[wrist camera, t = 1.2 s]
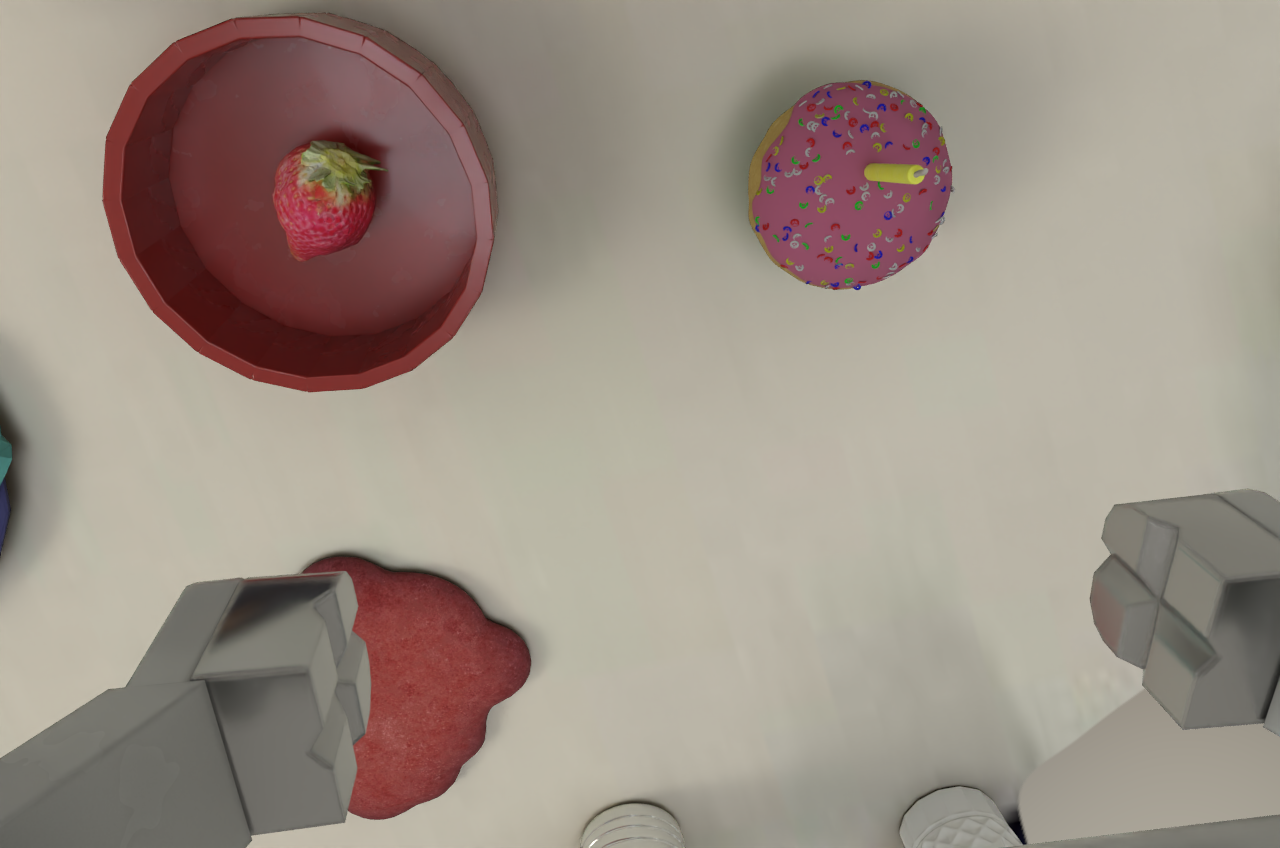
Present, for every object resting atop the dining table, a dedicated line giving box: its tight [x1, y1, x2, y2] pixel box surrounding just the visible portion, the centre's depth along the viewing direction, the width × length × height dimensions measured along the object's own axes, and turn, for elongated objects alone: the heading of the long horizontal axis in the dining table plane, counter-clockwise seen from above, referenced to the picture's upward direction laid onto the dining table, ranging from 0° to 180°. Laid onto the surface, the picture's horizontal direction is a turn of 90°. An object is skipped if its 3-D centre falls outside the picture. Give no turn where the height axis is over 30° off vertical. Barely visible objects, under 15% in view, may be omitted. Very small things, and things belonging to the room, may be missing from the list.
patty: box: [302, 557, 531, 820], centre depth 51 cm, size 18×14×2 cm
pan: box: [102, 13, 498, 392], centre depth 38 cm, size 14×14×5 cm
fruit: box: [272, 140, 389, 262], centre depth 38 cm, size 4×6×5 cm
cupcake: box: [748, 80, 955, 290], centre depth 37 cm, size 9×8×12 cm
